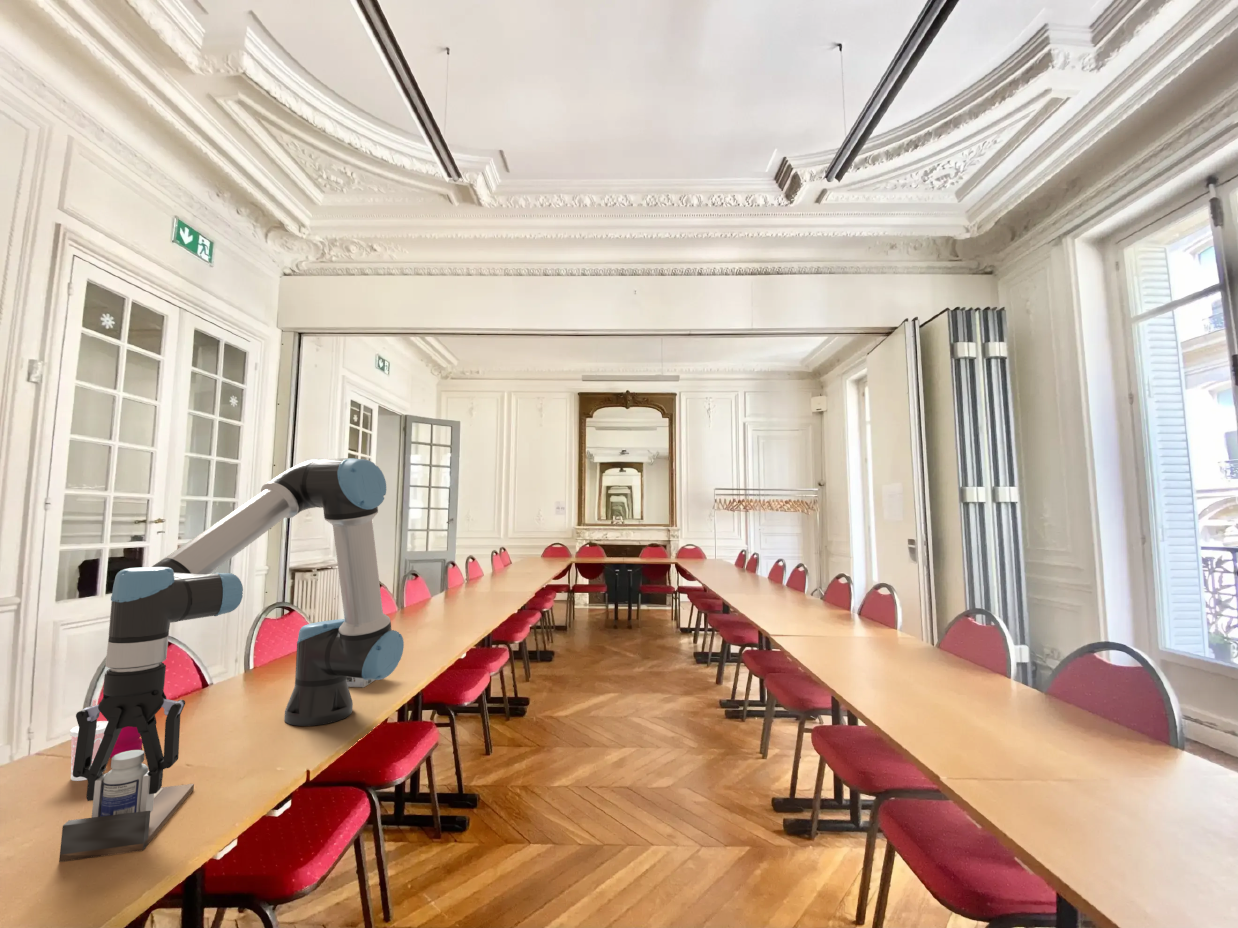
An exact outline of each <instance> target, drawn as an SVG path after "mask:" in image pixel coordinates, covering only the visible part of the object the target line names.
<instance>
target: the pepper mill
mask: <svg viewBox="0 0 1238 928" xmlns="http://www.w3.org/2000/svg"><path fill="white" fill-rule="evenodd" d="M142 748H143V744H142V739H141V735H140V733H138V730H137V727H129V726H128V727H124V728H122V730H121V731H120V734H119V736H118V739H117V741H116V744H115V746H114V748H113V751H112V753H111V756H110V758H109V759H112V757H113V756H115V755H117V754H119V753H122V752H126V751H131V750H142Z"/></svg>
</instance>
